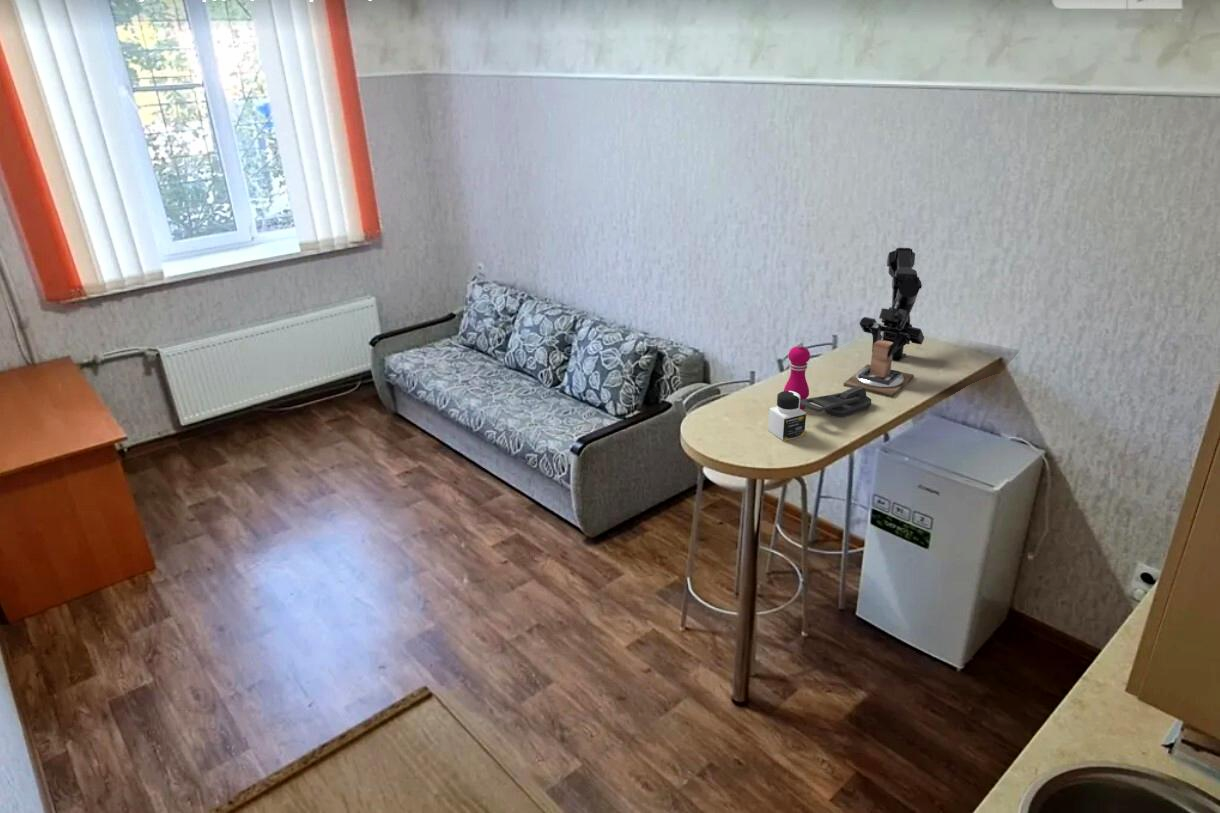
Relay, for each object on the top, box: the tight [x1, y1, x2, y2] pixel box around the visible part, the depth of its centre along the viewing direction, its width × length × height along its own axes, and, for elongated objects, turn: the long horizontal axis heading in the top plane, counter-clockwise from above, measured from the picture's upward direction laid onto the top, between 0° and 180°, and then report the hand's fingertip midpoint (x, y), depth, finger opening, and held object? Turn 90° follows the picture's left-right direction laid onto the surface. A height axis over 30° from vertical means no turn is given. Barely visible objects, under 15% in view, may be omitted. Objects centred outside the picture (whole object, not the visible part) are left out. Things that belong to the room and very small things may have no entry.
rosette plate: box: [855, 364, 903, 388], centre depth 239 cm, size 14×14×2 cm
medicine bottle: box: [768, 390, 807, 442], centre depth 210 cm, size 7×7×12 cm
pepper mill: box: [783, 341, 811, 410], centre depth 223 cm, size 7×7×20 cm
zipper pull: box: [800, 386, 872, 419], centre depth 221 cm, size 9×7×25 cm
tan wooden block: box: [870, 339, 893, 377], centre depth 237 cm, size 4×4×10 cm
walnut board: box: [843, 364, 915, 398], centre depth 240 cm, size 18×15×1 cm
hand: (880, 354), depth 235 cm, fingers closed on tan wooden block, 4 cm apart
